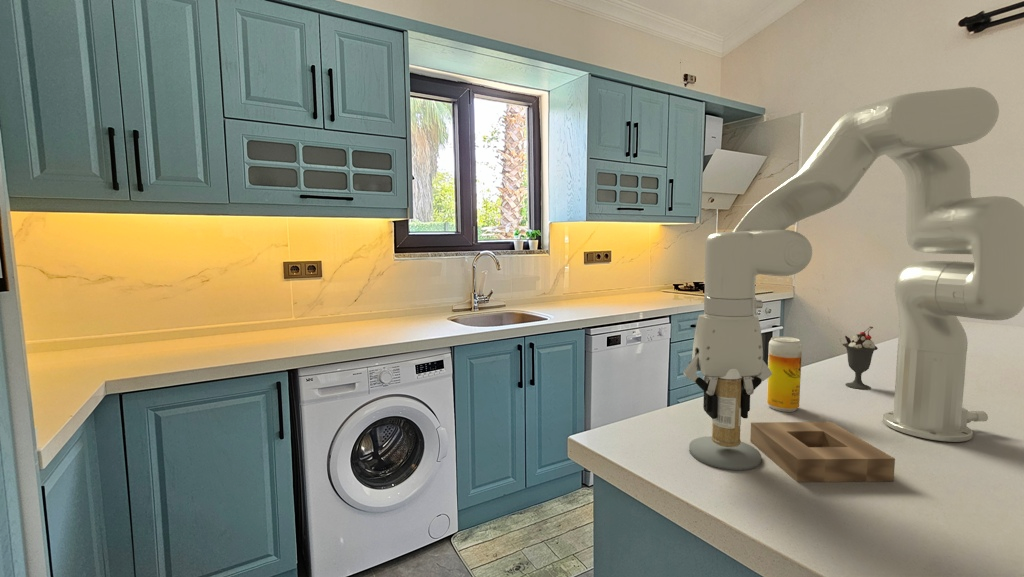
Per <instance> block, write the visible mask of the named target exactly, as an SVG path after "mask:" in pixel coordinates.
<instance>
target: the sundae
mask: <svg viewBox="0 0 1024 577" xmlns="http://www.w3.org/2000/svg"><path fill="white" fill-rule="evenodd" d="M871 329H874V326H869V327H868V328H867V329H866V330H864V331H860V332H859V334H858V333H857V334H854V335H853V336H852V337H851V338H850V337H848V335H845V336H844V338H845V340H846V343H842V346H843V347H845V348H846V354H847V362H848V367H849V368H850V369H851V370H852V371H853V372H854V374H855V375H854V380H853V381H852V382H846V383H845V386H846V387H847V388H851V389H857V390H870V389H871V385H870V386H869V385H867V384H865V383H863V381H862V374H863V373H865V372H866V371H868V370H869V369H870V365H871V363H872V358H873V354H874V352H875V351H876V350H877V351H878V347H877V346H876V345H875V343H874V341H873V340H872V336H871V335H870V334H869V332H870V331H871ZM866 331H867V334H866Z"/></svg>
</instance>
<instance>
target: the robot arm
mask: <svg viewBox="0 0 1024 577" xmlns="http://www.w3.org/2000/svg"><path fill="white" fill-rule="evenodd" d="M999 114H1000V108H999V103H998V101H997V99H996V98H995V96H994V95H993V94H992V93H991V92H990V91H988V90H986V89H983V88H981V87H975V86H969V87H968V86H966V87H957V88H949V89H939V90H938V89H937V90H927V91H918V92H911V93H910V92H909V93H905V94H901V95H897V96H893V97H891V98H890V97H889V98H888V99H883V100H880V101H876V102H874V103H870V104H867V105H863V106H860V107H857V108H855V109H851V110H850V111H848V112H846V113H845V114H844V115H842V116H841V117H840V118H839V119H838V120H836V121H835V123H834V125H833V126H832V127H831V128H830V130H829V131H828V133H827V134H826V135H825V136H824V137H823V139H822V140H821V141H820V143H819V144H818V145H817V147H816V148H815V149H814V151H813V152H811V155H809V157H808V158H807V160H806V161H805V163H804V164H803V165H802V167H801V168H800V169H799V170H798V171H797V173H796V174H794V175H793V176H792V177H790V178H789V179H787V180H786V181H785V182H783V183H781V185H779V186H778V187H777V188H775V189H774V190H773V191H772V192H770V193H769V194H767V195H766V196H764V197H763V198H762V199H761V200H760V201H758V202H757V203H756V204H754V206H753V207H752V208H750V210H748V211H747V213H746V214H745V215H744V216H743V217H742V218H741V220H740V221H739V222H738V224H737V225H736V226H735V228H734V229H733V230H732V231H724V232H713V233H711V234H709V235H708V236H707V237H706V239H705V247H704V248H705V250H704V251H705V252H704V300H703V301H704V304H703V308H704V309H703V314H699V315H698V316H697V321H696V324H695V330H694V335H693V336H694V338H693V344H692V355H691V361H690V362H689V364H688V365H687V366H686V367H685V369H684V370H683V371H682V372H683V375H684V376H685V378H687V379H689V380H690V381H692V382H693V383H694V384H696V385H697V386H698V387H699V388H700V389H701V390H702V391H703V403H702V404H703V410H704V412H705V413H706V415H708V416H709V418H711V420H712V419H716V418H717V409H718V397H717V395H715V388H716V384H717V380H718V377H724V376H726V374H727V372H728V371H729V370H730V369H737V370H738V372H739V375H740V376H741V377H742V379H741V419H742V418H743V419H748V418H749V412H750V410H751V395H753V394H754V392H755V390H756V389H757V388H758V387H759V386H760V385H761V384H762V383H763V382H764V381H765V380H767V378H769V377H770V376H771V375H772V372H771V370H770V369H769V368H768V364H767V363H766V362H765V361H764V350H763V349H764V348H763V334H762V328H761V324H760V320H759V316H757V315H755V314H756V312H757V310H758V309H763V306H764V304H763V300H761V299H757V297H756V277H757V276H758V275H761V276H768V277H769V276H772V277H789V276H793V275H796V274H798V273H800V272H802V271H803V270H805V269H806V268H807V266H808V265H809V264H810V262H811V261H812V259H813V258H812V257H813V246H812V244H811V242H810V240H809V239H808V238H807V237H806V236H805V235H803V234H801V233H800V232H799V231H798V232H797V231H794V230H790V229H788V228H789V227H791V226H793V225H794V224H796V223H798V222H800V221H802V220H805V219H806V218H809V217H813V216H815V215H818V214H820V213H822V212H826V211H827V210H829V209H831V208H833V207H835V206H837V205H840V204H841V203H842V202H844V201H845V200H846V199H847V198H848V197H849V196H850V194H851V193H852V192H853V190H854V189H855V188H856V187H857V185H858V184H859V182H860V181H861V179H862V178H863V177H864V176H865V174H866V173H867V171H869V169H870V167H872V166H873V164H874V163H875V161H876V160H877V159H878V158H879V157H881V156H884V155H885V156H887V157H888V159H889V158H890V159H891V161H893V162H894V163H895V165H896V166H897V167H898V168H899V169H900V171H901V172H902V174H903V177H904V181H905V190H906V191H905V192H906V194H905V196H906V197H905V198H906V199H905V202H906V203H905V233H906V236H905V238H906V241H907V244H908V245H909V247H910V248H911V249H912V250H914V251H917V252H919V253H925V254H934V255H935V254H938V255H939V254H940V255H972V258H973V261H972V262H971V261H970V262H967V261H955V260H953V261H951V260H949V261H948V260H924V261H918V262H914V263H911V264H909V265H907V266H905V267H904V268H902V269H901V270H900V271H899V273H898V274H897V276H896V278H895V281H894V293H895V300H896V305H897V312H898V342H897V351H896V352H897V355H896V365H895V366H896V368H895V381H894V382H895V384H894V396H893V397H894V399H893V411H887V412H885V413H884V414H882V422H883V423H884V424H885V425H886V426H887V427H889V428H891V429H893V430H895V431H898V432H900V433H904V434H905V435H910V436H912V437H917V438H920V439H926V440H931V441H937V442H946V443H947V442H949V443H951V442H952V443H962V442H966V441H970V440H971V439H972V438H973V431H972V429H971V428H970V427H969V426H968V425H967V424H970V423H971V422H987V421H988V419H989V416H988V414H987V412H985V411H983V410H970V411H969V410H968V409H966V408H965V407H963V401H964V392H965V391H964V390H965V380H966V379H965V378H966V367H967V366H966V365H967V355H968V344H969V343H968V342H969V341H968V335H967V333H966V331H965V329H964V327H963V325H962V323H961V321H960V319H959V318H958V317H962V318H969V319H975V320H977V319H978V320H983V321H1005V320H1010V319H1012V318H1014V317H1015V316H1017V315H1019V313H1021V311H1022V310H1023V309H1024V205H1023V204H1022V203H1021V202H1020V201H1018V200H1016V199H1014V198H1011V197H1008V196H998V195H996V196H994V195H993V196H981V197H980V196H979V197H978V196H977V197H972V193H971V192H972V191H971V171H970V166H969V164H968V163H967V161H966V159H965V158H964V157H963V154H961V153H960V152H958V150H956V149H955V148H954V147H957V146H961V145H962V146H963V145H968V144H971V143H976V142H977V141H980V140H981V139H983V138H984V137H986V136H987V135H988V134H989V133H990V132H991V131H992V129H993V128H994V127H995V125H996V124H997V122H998V118H999ZM697 372H700V373H701V375H702V377H700V375H697Z"/></svg>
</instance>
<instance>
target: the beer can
mask: <svg viewBox="0 0 1024 577" xmlns="http://www.w3.org/2000/svg"><path fill="white" fill-rule="evenodd" d="M802 350H803V345H802V342H801V340H800V339H799V338H796V337H791V336H772V337H771V338H770V340H769V342H768V358H767V366H768V368H769V369H770V370H771V372H772V375H771V376H770V377H769V378H767V379H766V380H767V383H766V384H767V385H766V403H767V404H768V407H769V408H770V409H772V410H775V411H780V412H785V413H787V412H788V413H791V412H792V413H793V412H795V411H796V410H797V409H799V408H800V399H801V398H800V397H801V395H800V394H801V379H802V377H801V376H802V373H801V372H802V356H803V351H802Z"/></svg>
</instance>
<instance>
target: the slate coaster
mask: <svg viewBox="0 0 1024 577" xmlns="http://www.w3.org/2000/svg"><path fill="white" fill-rule="evenodd" d="M711 438H712V435H711V436H700V437H697V438H694V439H693V440H691V441H690V442H689V444H688V445H689V446H688V448H689V449H688V450H689V451H688V452H689V453H690V455H691V456H692V457H693V458H694V459H696V460H697V461H698V462H701V463H702V464H705V465H707V466H711V467H714V468H717V469H721V470H728V471H747V470H753V469H755V468H757V467H759V466H760V465H761V463H762V454H761V452H760V450H758V448H757V449H756V448H755V447H754V446H752V444H751V445H750V444H749V443H747V442H744V441H741V443H740V445H739V446H736V447H725V446H720V445H718V444H716V443H714V442H713V441H712V439H711Z"/></svg>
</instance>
